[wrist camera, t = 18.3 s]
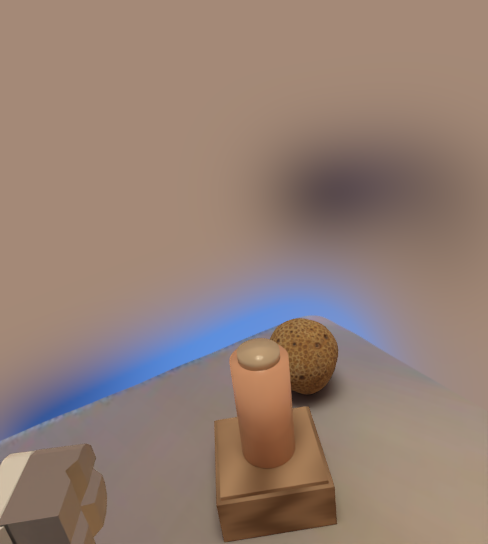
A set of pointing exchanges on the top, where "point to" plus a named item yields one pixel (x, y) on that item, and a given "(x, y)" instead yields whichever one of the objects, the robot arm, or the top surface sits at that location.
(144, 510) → the top surface
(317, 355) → the natural sponge
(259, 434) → the terracotta jar
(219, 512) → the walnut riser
